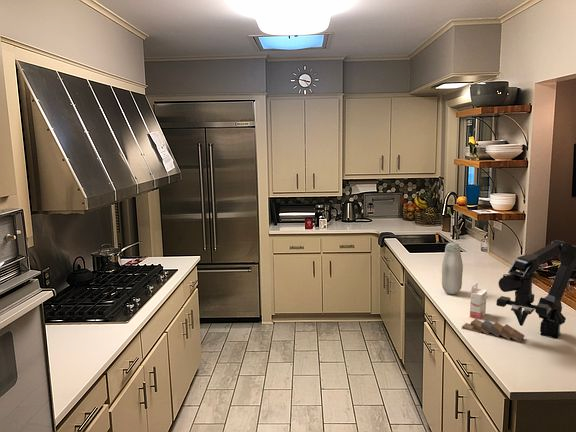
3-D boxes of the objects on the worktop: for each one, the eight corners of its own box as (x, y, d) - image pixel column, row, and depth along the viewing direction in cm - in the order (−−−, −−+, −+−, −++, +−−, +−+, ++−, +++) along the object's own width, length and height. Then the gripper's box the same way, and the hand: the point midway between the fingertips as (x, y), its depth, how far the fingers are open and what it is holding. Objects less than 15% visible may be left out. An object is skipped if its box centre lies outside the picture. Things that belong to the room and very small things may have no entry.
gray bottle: (444, 289, 255) (446, 239, 250) (463, 292, 249) (465, 241, 245) (438, 294, 247) (440, 243, 242) (458, 297, 241) (460, 245, 237)
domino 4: (524, 335, 190) (506, 324, 194) (521, 339, 186) (502, 327, 191) (523, 338, 191) (504, 326, 195) (519, 342, 187) (500, 330, 191)
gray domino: (504, 330, 195) (486, 319, 200) (500, 334, 192) (482, 323, 196) (502, 333, 196) (484, 322, 200) (498, 337, 192) (480, 325, 197)
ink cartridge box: (480, 319, 212) (481, 288, 209) (469, 317, 215) (470, 286, 213) (486, 313, 218) (487, 283, 216) (475, 311, 221) (476, 282, 219)
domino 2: (493, 327, 198) (475, 318, 203) (489, 331, 195) (471, 321, 200) (492, 331, 199) (474, 321, 204) (487, 334, 195) (470, 325, 200)
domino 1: (484, 327, 201) (466, 323, 206) (480, 331, 197) (461, 326, 202) (484, 330, 201) (465, 326, 206) (480, 334, 197) (461, 329, 202)
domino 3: (514, 333, 193) (496, 321, 197) (510, 337, 189) (492, 325, 193) (512, 336, 193) (494, 324, 198) (508, 340, 190) (490, 328, 194)
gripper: (554, 288, 185) (551, 324, 188) (505, 279, 197) (503, 314, 200) (547, 295, 177) (545, 333, 180) (496, 286, 189) (494, 322, 192)
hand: (521, 325), depth 188 cm, fingers closed
